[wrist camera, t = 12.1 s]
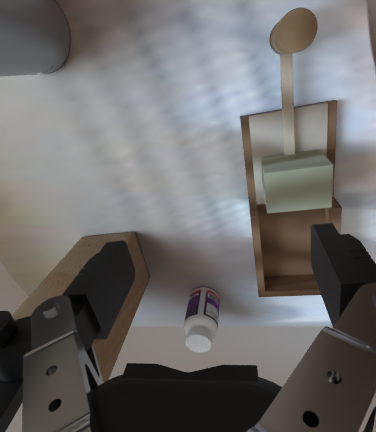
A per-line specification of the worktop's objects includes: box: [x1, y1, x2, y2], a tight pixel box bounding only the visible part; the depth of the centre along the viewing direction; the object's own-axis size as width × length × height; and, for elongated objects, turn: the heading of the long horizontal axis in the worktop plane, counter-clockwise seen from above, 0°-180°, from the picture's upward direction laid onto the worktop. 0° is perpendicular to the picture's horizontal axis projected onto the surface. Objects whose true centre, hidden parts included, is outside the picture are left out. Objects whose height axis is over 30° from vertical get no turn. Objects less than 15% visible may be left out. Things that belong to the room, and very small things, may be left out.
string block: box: [261, 8, 333, 213], centre depth 31 cm, size 19×7×7 cm, turn 11°
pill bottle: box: [184, 287, 219, 352], centre depth 47 cm, size 5×5×10 cm
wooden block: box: [12, 232, 150, 382], centre depth 41 cm, size 10×10×20 cm
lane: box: [240, 100, 342, 297], centre depth 39 cm, size 26×11×4 cm, turn 11°
